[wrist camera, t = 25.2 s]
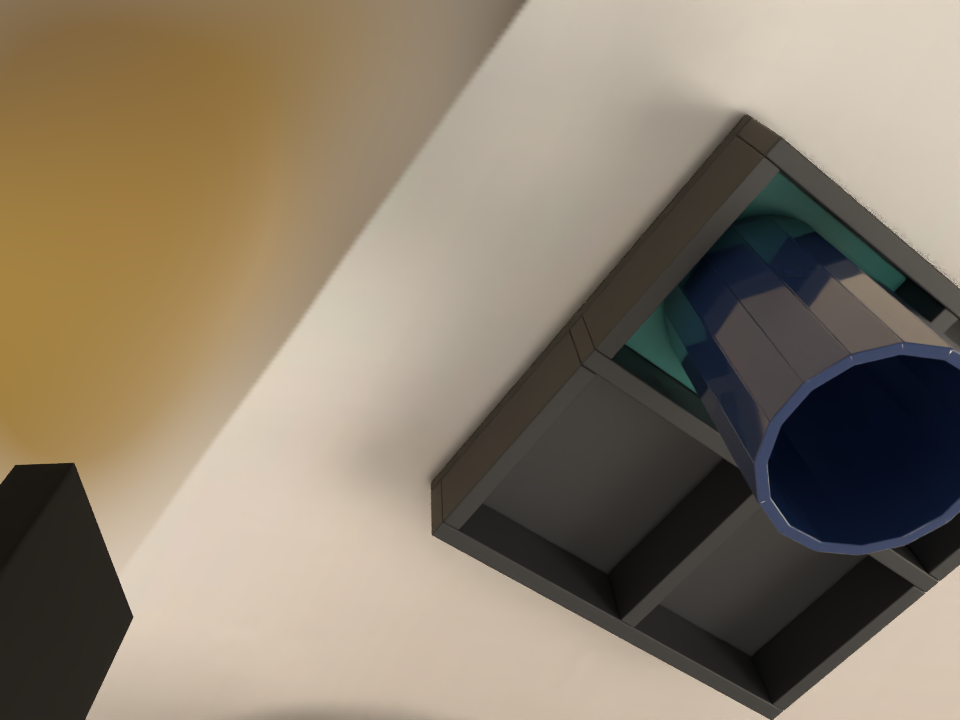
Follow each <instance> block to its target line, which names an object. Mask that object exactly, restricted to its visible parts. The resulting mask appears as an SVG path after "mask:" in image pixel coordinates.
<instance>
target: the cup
mask: <svg viewBox="0 0 960 720" xmlns="http://www.w3.org/2000/svg"><path fill="white" fill-rule="evenodd" d="M663 313H664V324H665V328H666V333H667V335H668V338H669V340H670V345H671V347H672V349H673V351H674V352H675V354H676V356H677V358H678V360H679V361H680V363H681V365H682V367H683V369H684V370H685V372H686V374H687V376H688V378H689V379H690V381H691V383H692V385H693V387H694V388H695V390H696V392H697V394H698V396H699V397H700V399H701V401H702V403H703V405H704V406H705V408H706V410H707V412H708V414H709V415H710V417H711V419H712V421H713V423H714V424H715V426H716V428H717V430H718V432H719V433H720V435H721V437H722V439H723V441H724V442H725V444H726V446H727V448H728V450H729V451H730V453H731V455H732V457H733V459H734V460H735V462H736V464H737V466H738V468H739V469H740V471H741V473H742V475H743V477H744V478H745V480H746V482H747V484H748V486H749V487H750V489H751V491H752V493H753V495H754V496H755V498H756V500H757V502H758V504H759V505H760V506H761V508H762V509H763V511H764V512H765V513H766V515H767V516H768V518H769V519H770V520H771V522H772V523H773V525H774V526H775V527H776V529H777V530H778V532H780V533H781V534H783V535H785V536H786V537H788V538H790V539H792V540H794V541H796V542H798V543H800V544H802V545H804V546H806V547H808V548H810V549H812V550H814V551H817V552H827V553H838V554H848V555H864V554H868V553H873V552H877V551H882V550H887V549H891V548H896V547H900V546H904V545H907V544H909V543H911V542H913V541H915V540H916V539H918V538H920V537H922V536H924V535H926V534H928V533H930V532H931V531H933V530H935V529H937V528H939V527H941V526H943V525H944V524H946V523H948V521H951V520H952V519H953V518H954V517H955V516H956V515H957V514H958V513H959V512H960V347H959V346H958V345H957V344H956V343H954V342H953V341H952V340H951V339H950V338H948V337H947V336H946V335H945V334H944V333H942V332H941V331H940V330H939V329H938V328H936V327H935V326H934V325H933V324H932V323H931V322H929V321H928V320H927V319H926V318H925V317H923V316H922V315H921V314H920V313H919V312H917V311H916V310H915V309H914V308H913V307H911V306H910V305H909V304H908V303H907V302H905V301H904V300H903V299H902V298H901V297H899V296H898V295H897V294H896V293H895V292H894V291H892V290H891V289H890V288H889V287H888V286H886V285H885V284H884V283H883V282H882V281H880V280H879V279H878V278H877V277H876V276H874V275H873V274H872V273H871V272H870V271H868V270H867V269H866V268H865V267H864V266H862V265H861V264H860V263H859V262H858V261H857V260H855V259H854V258H853V257H852V256H851V255H849V254H848V253H847V252H846V251H845V250H843V249H842V248H841V247H840V246H839V245H837V244H836V243H835V242H834V241H832V240H831V239H829V238H828V237H826V236H825V235H823V234H822V233H821V232H820V231H818V230H817V229H816V228H814V227H813V226H811V225H809V224H807V223H806V222H804V221H801V220H798V219H795V218H792V217H788V216H783V215H771V214H769V215H755V216H750V217H745V218H741V219H738V220H735V221H734V222H733V223H732V225H731V226H730V227H729V228H728V229H727V230H726V231H725V232H724V233H723V235H722V236H721V237H720V238H719V239H718V240H717V241H716V242H715V244H714V245H713V246H712V247H711V248H710V249H709V250H708V251H707V253H706V254H705V255H704V256H703V257H702V258H701V259H700V260H699V262H698V263H697V264H696V265H695V266H694V267H693V268H692V269H691V270H690V272H689V273H688V274H687V275H686V276H685V277H684V278H683V279H682V281H681V282H680V283H679V284H678V285H677V286H676V287H675V288H674V290H673V291H672V292H671V293H670V294H669V295H668V296H667V297H666V299H665V300H664V311H663Z"/></svg>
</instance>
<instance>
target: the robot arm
mask: <svg viewBox="0 0 960 720" xmlns="http://www.w3.org/2000/svg"><path fill="white" fill-rule="evenodd" d="M132 619H133V615H132V613H131V610H130V607H129V605H128V602H127V599H126V597H125V594H124V592H123V589H122V586H121V584H120V581H119V579H118V576H117V573H116V571H115V568H114V566H113V563H112V561H111V558H110V555H109V553H108V550H107V547H106V545H105V542H104V540H103V537H102V534H101V532H100V529H99V526H98V524H97V522H96V519H95V516H94V513H93V511H92V508H91V506H90V503H89V500H88V498H87V495H86V492H85V490H84V487H83V485H82V482H81V480H80V477H79V474H78V472H77V469H76V466H75V464H74V463H58V464H32V465H15V466H14V468H13V469H12V471H10V473H9V474H8V475H7V477H6V478H5V479H4V481H3V482H2V483H1V484H0V720H85V719H86V716H87V714H88V712H89V710H90V708H91V706H92V704H93V702H94V700H95V697H96V695H97V693H98V691H99V689H100V687H101V685H102V683H103V681H104V678H105V676H106V674H107V672H108V670H109V668H110V666H111V664H112V662H113V659H114V657H115V655H116V653H117V651H118V649H119V647H120V645H121V642H122V640H123V638H124V636H125V634H126V632H127V630H128V628H129V626H130V623H131V621H132Z"/></svg>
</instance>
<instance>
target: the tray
mask: <svg viewBox="0 0 960 720" xmlns="http://www.w3.org/2000/svg"><path fill="white" fill-rule="evenodd" d="M769 214H771V215H783V216H788V217H792V218H795V219H798V220H801V221H804V222H806V223H807V224H809V225H811V226H813V227H814V228H816V229H817V230H818V231H820V232H821V233H822V234H823V235H825V236H826V237H828V238H829V239H831V240H832V241H834V242H835V243H836V244H837V245H839V246H840V247H841V248H842V249H843V250H845V251H846V252H847V253H848V254H849V255H851V256H852V257H853V258H854V259H855V260H857V261H858V262H859V263H860V264H861V265H862V266H864V267H865V268H866V269H867V270H868V271H870V272H871V273H872V274H873V275H874V276H876V277H877V278H878V279H879V280H880V281H882V282H883V283H884V284H885V285H886V286H888V287H889V288H890V289H891V290H892V291H894V292H895V293H896V294H897V295H898V296H899V297H901V298H902V299H903V300H904V301H905V302H907V303H908V304H909V305H910V306H911V307H913V308H914V309H915V310H916V311H917V312H919V313H920V314H921V315H922V316H923V317H925V318H926V319H927V320H928V321H929V322H931V323H932V324H933V325H934V326H935V327H936V328H938V329H939V330H940V331H941V332H942V333H944V334H945V335H946V336H947V337H948V338H950V339H951V340H952V341H953V342H954V343H956V344H957V345H958V346H959V347H960V289H959V288H958V287H957V286H956V285H955V284H953V283H952V282H951V281H950V280H949V279H948V278H946V277H945V276H944V275H943V274H942V273H941V272H939V271H938V270H937V269H936V268H935V267H933V266H932V265H931V264H930V263H929V262H928V261H926V260H925V259H924V258H923V257H922V256H921V255H919V254H918V253H917V252H916V251H915V250H914V249H912V248H911V247H910V246H909V245H908V244H906V243H905V242H904V241H903V240H902V239H901V238H899V237H898V236H897V235H896V234H895V233H894V232H892V231H891V230H890V229H889V228H888V227H887V226H885V225H884V224H883V223H882V222H881V221H879V220H878V219H877V218H876V217H875V216H874V215H872V214H871V213H870V212H869V211H868V210H867V209H865V208H864V207H863V206H862V205H861V204H860V203H858V202H857V201H856V200H855V199H854V198H853V197H851V196H850V195H849V194H848V193H847V192H845V191H844V190H843V189H842V188H841V187H840V186H838V185H837V184H836V183H835V182H834V181H833V180H831V179H830V178H829V177H828V176H827V175H826V174H824V173H823V172H822V171H821V170H820V169H818V168H817V167H816V166H815V165H814V164H813V163H811V162H810V161H809V160H808V159H807V158H806V157H804V156H803V155H802V154H801V153H800V152H799V151H797V150H796V149H795V148H794V147H793V146H791V145H790V144H789V143H788V142H787V141H786V140H784V139H783V138H782V137H781V136H779V135H778V134H776V133H775V132H773V131H772V130H770V129H769V128H767V127H766V126H764V125H763V124H761V123H760V122H758V121H757V120H755V119H754V118H752V117H751V116H749V115H748V114H746V115H745V116H744V117H743V118H742V120H741V121H740V122H739V123H738V124H737V125H736V127H735V128H734V129H733V130H732V131H731V132H730V134H729V135H728V136H727V137H726V138H725V140H724V141H723V142H722V143H721V144H720V145H719V147H718V148H717V149H716V150H715V151H714V152H713V154H712V155H711V156H710V157H709V158H708V159H707V161H706V162H705V163H704V164H703V165H702V166H701V168H700V169H699V170H698V171H697V172H696V174H695V175H694V176H693V177H692V178H691V179H690V181H689V182H688V183H687V184H686V185H685V186H684V188H683V189H682V190H681V191H680V192H679V193H678V195H677V196H676V197H675V198H674V199H673V200H672V202H671V203H670V204H669V205H668V206H667V208H666V209H665V210H664V211H663V212H662V213H661V215H660V216H659V217H658V218H657V219H656V220H655V222H654V223H653V224H652V225H651V226H650V227H649V229H648V230H647V231H646V232H645V233H644V234H643V236H642V237H641V238H640V239H639V240H638V242H637V243H636V244H635V245H634V246H633V247H632V249H631V250H630V251H629V252H628V253H627V254H626V256H625V257H624V258H623V259H622V260H621V261H620V263H619V264H618V265H617V266H616V267H615V268H614V270H613V271H612V272H611V273H610V274H609V276H608V277H607V278H606V279H605V280H604V281H603V283H602V284H601V285H600V286H599V287H598V288H597V290H596V291H595V292H594V293H593V294H592V295H591V297H590V298H589V299H588V300H587V301H586V302H585V304H584V305H583V306H582V307H581V308H580V310H579V311H578V312H577V313H576V314H575V315H574V317H573V318H572V319H571V320H570V321H569V322H568V324H567V325H566V326H565V327H564V328H563V329H562V331H561V332H560V333H559V334H558V335H557V336H556V338H555V339H554V340H553V341H552V342H551V344H550V345H549V346H548V347H547V348H546V349H545V351H544V352H543V353H542V354H541V355H540V356H539V358H538V359H537V360H536V361H535V362H534V363H533V365H532V366H531V367H530V368H529V369H528V370H527V372H526V373H525V374H524V375H523V376H522V378H521V379H520V380H519V381H518V382H517V383H516V385H515V386H514V387H513V388H512V389H511V390H510V392H509V393H508V394H507V395H506V396H505V397H504V399H503V400H502V401H501V402H500V403H499V404H498V406H497V407H496V408H495V409H494V410H493V412H492V413H491V414H490V415H489V416H488V417H487V419H486V420H485V421H484V422H483V423H482V424H481V426H480V427H479V428H478V429H477V430H476V431H475V433H474V434H473V435H472V436H471V437H470V438H469V440H468V441H467V442H466V443H465V444H464V446H463V447H462V448H461V449H460V450H459V451H458V453H457V454H456V455H455V456H454V457H453V458H452V460H451V461H450V462H449V463H448V464H447V465H446V467H445V468H444V469H443V470H442V471H441V472H440V474H439V475H438V476H437V477H436V478H435V479H434V481H433V482H432V483H431V519H432V535H433V536H435V537H436V538H438V539H440V540H442V541H444V542H446V543H447V544H449V545H451V546H453V547H455V548H457V549H458V550H460V551H462V552H464V553H466V554H468V555H469V556H471V557H473V558H475V559H477V560H479V561H480V562H482V563H484V564H486V565H488V566H490V567H491V568H493V569H495V570H497V571H499V572H501V573H502V574H504V575H506V576H508V577H510V578H512V579H513V580H515V581H517V582H519V583H521V584H523V585H524V586H526V587H528V588H530V589H532V590H534V591H535V592H537V593H539V594H541V595H543V596H545V597H546V598H548V599H550V600H552V601H554V602H556V603H557V604H559V605H561V606H563V607H565V608H567V609H568V610H570V611H572V612H574V613H576V614H578V615H580V616H581V617H583V618H585V619H587V620H589V621H591V622H592V623H594V624H596V625H598V626H600V627H602V628H603V629H605V630H607V631H609V632H611V633H613V634H614V635H616V636H618V637H620V638H622V639H624V640H625V641H627V642H629V643H631V644H633V645H635V646H636V647H638V648H640V649H642V650H644V651H646V652H647V653H649V654H651V655H653V656H655V657H657V658H658V659H660V660H662V661H664V662H666V663H668V664H669V665H671V666H673V667H675V668H677V669H679V670H680V671H682V672H684V673H686V674H688V675H690V676H691V677H693V678H695V679H697V680H699V681H701V682H702V683H704V684H706V685H708V686H710V687H712V688H713V689H715V690H717V691H719V692H721V693H723V694H724V695H726V696H728V697H730V698H732V699H734V700H735V701H737V702H739V703H741V704H743V705H745V706H746V707H748V708H750V709H752V710H754V711H756V712H758V713H759V714H761V715H763V716H765V717H767V718H769V719H770V720H773V719H774V718H775V717H777V716H778V715H779V714H780V713H782V712H783V710H785V709H786V708H787V707H789V706H790V705H791V704H792V703H794V702H795V701H796V700H797V699H798V698H800V697H801V696H802V695H803V694H804V693H806V692H807V691H808V690H809V689H810V688H812V687H813V686H814V685H815V684H816V683H818V682H819V681H820V680H821V679H822V678H824V677H825V676H826V675H827V674H829V673H830V672H831V671H832V670H833V669H835V668H836V667H837V666H838V665H839V664H841V663H842V662H843V661H844V660H845V659H847V658H848V657H849V656H850V655H851V654H853V653H854V652H855V651H856V650H857V649H859V648H860V647H861V646H862V645H864V644H865V643H866V642H867V641H868V640H870V639H871V638H872V637H873V636H874V635H876V634H877V633H878V632H879V631H880V630H882V629H883V628H884V627H885V626H886V625H888V624H889V623H890V622H891V621H892V620H894V619H895V618H896V617H897V616H899V615H900V614H901V613H902V612H903V611H905V610H906V609H907V608H908V607H909V606H911V605H912V604H913V603H914V602H915V601H917V600H918V599H919V598H920V597H921V596H923V595H924V594H925V592H927V591H928V590H930V589H931V588H932V587H933V586H934V585H936V584H937V583H938V582H939V581H940V580H942V579H943V578H944V577H945V576H947V575H948V574H949V573H950V572H951V571H953V570H954V569H955V568H956V567H958V566H959V565H960V512H959V513H958V514H957V515H956V516H955V517H954V518H953V519H952V520H951V521H948V523H946V524H944V525H943V526H941V527H939V528H937V529H935V530H933V531H931V532H930V533H928V534H926V535H924V536H922V537H920V538H918V539H916V540H915V541H913V542H911V543H909V544H907V545H904V546H900V547H896V548H891V549H887V550H882V551H877V552H873V553H868V554H864V555H848V554H838V553H827V552H817V551H814V550H812V549H810V548H808V547H806V546H804V545H802V544H800V543H798V542H796V541H794V540H792V539H790V538H788V537H786V536H785V535H783V534H781V533H780V532H778V530H777V529H776V527H775V526H774V525H773V523H772V522H771V520H770V519H769V518H768V516H767V515H766V513H765V512H764V511H763V509H762V508H761V506H760V505H759V504H758V502H757V500H756V498H755V496H754V495H753V493H752V491H751V489H750V487H749V486H748V484H747V482H746V480H745V478H744V477H743V475H742V473H741V471H740V469H739V468H738V466H737V464H736V462H735V460H734V459H733V457H732V455H731V453H730V451H729V450H728V448H727V446H726V444H725V442H724V441H723V439H722V437H721V435H720V433H719V432H718V430H717V428H716V426H715V424H714V423H713V421H712V419H711V417H710V415H709V414H708V412H707V410H706V408H705V406H704V405H703V403H702V401H701V399H700V397H699V396H698V394H697V392H696V390H695V388H694V387H693V385H692V383H691V381H690V379H689V378H688V376H687V374H686V372H685V370H684V369H683V367H682V365H681V363H680V361H679V360H678V358H677V356H676V354H675V352H674V351H673V349H672V347H671V345H670V340H669V338H668V335H667V333H666V328H665V324H664V313H663V311H664V300H665V299H666V297H667V296H668V295H669V294H670V293H671V292H672V291H673V290H674V288H675V287H676V286H677V285H678V284H679V283H680V282H681V281H682V279H683V278H684V277H685V276H686V275H687V274H688V273H689V272H690V270H691V269H692V268H693V267H694V266H695V265H696V264H697V263H698V262H699V260H700V259H701V258H702V257H703V256H704V255H705V254H706V253H707V251H708V250H709V249H710V248H711V247H712V246H713V245H714V244H715V242H716V241H717V240H718V239H719V238H720V237H721V236H722V235H723V233H724V232H725V231H726V230H727V229H728V228H729V227H730V226H731V225H732V223H733V222H734V221H735V220H738V219H741V218H745V217H750V216H755V215H769ZM938 580H939V581H938Z"/></svg>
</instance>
